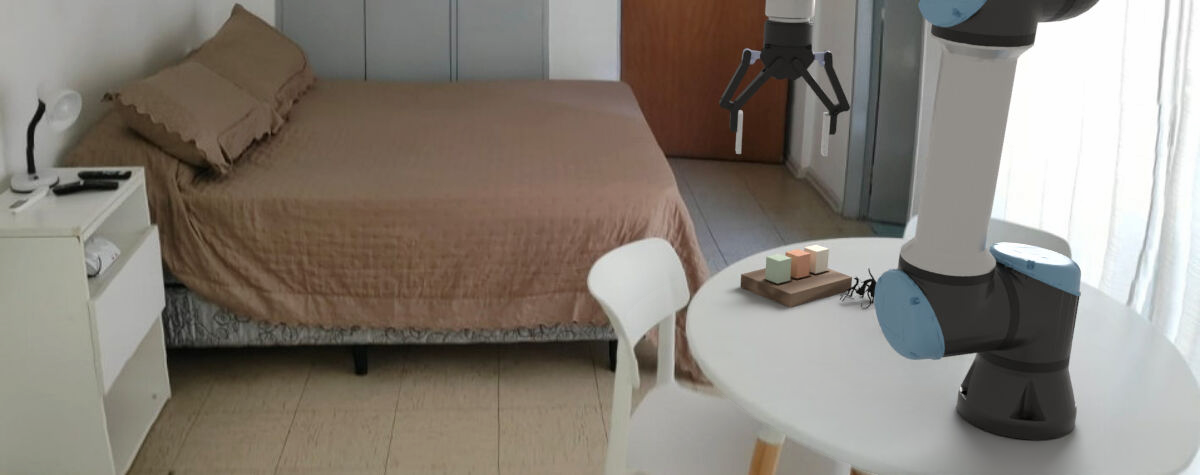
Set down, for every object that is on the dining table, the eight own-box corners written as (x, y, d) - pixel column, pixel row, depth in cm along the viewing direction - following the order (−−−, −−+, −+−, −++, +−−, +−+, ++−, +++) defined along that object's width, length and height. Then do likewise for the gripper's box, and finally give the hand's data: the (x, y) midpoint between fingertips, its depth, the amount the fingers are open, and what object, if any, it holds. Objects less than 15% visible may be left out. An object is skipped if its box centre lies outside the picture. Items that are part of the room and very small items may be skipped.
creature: (854, 318, 197) (895, 302, 199) (851, 289, 195) (892, 274, 197) (829, 302, 204) (869, 287, 206) (826, 274, 202) (866, 259, 204)
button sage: (790, 280, 203) (791, 258, 202) (777, 283, 201) (779, 261, 200) (777, 275, 205) (779, 253, 204) (765, 278, 203) (766, 256, 202)
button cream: (827, 270, 208) (829, 248, 207) (815, 273, 206) (817, 251, 205) (814, 266, 210) (816, 244, 209) (802, 269, 209) (804, 247, 208)
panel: (851, 290, 206) (852, 277, 206) (789, 307, 198) (790, 293, 197) (800, 271, 215) (801, 259, 215) (740, 287, 207) (741, 274, 206)
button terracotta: (809, 275, 206) (810, 253, 204) (796, 278, 204) (798, 256, 203) (796, 270, 208) (797, 249, 207) (784, 273, 206) (785, 251, 205)
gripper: (867, 17, 186) (856, 150, 192) (707, 14, 187) (702, 145, 193) (875, 23, 179) (863, 160, 185) (708, 19, 180) (703, 156, 186)
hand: (781, 153), depth 189 cm, fingers open, 13 cm apart
